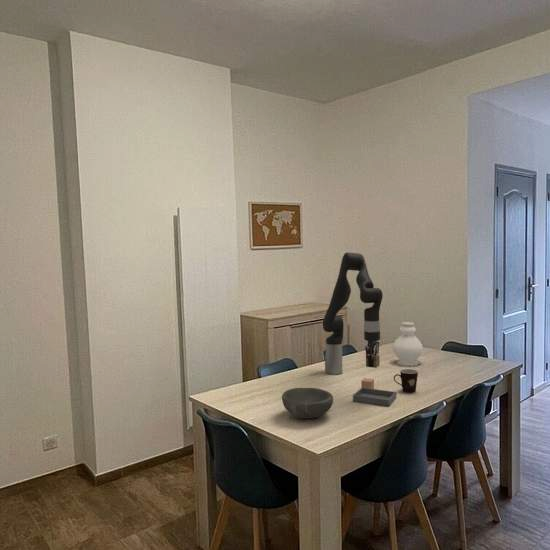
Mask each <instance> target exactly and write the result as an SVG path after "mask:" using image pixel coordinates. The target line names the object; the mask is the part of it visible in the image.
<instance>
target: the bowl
mask: <svg viewBox="0 0 550 550" xmlns="http://www.w3.org/2000/svg"><path fill="white" fill-rule="evenodd" d="M281 402H282V404H283V407H284V408H285V409H286V411H287V412H288V413H289V414H290V415H292V416H294V417H295V418H299V419H312V418H313V419H314V418H318V417H321V416H323V415H325V414H326V413H328V412H329V411H330V409H331V408H332V406H333V404H334V396H333V394H332V393H331V392H329V391H327V390H325V389H320V388H315V387H295V388H290V389H287V390H285V391H284V392H282V394H281Z"/></svg>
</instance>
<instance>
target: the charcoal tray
mask: <svg viewBox="0 0 550 550" xmlns="http://www.w3.org/2000/svg"><path fill="white" fill-rule="evenodd" d="M396 399H397V392H396V391H392V390H384V389H376V388H374V389H370V388H360V389H358V390H357V391H356V392H355V393H354V394H352V402H355V403H362V404H367V405H368V404H370V405H375V406H381V407H382V406H383V407H390V406H391V405H392V404H393V402H394V401H395V400H396Z"/></svg>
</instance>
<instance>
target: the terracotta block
mask: <svg viewBox="0 0 550 550" xmlns="http://www.w3.org/2000/svg"><path fill="white" fill-rule="evenodd" d="M360 384H361V388H370V389H375V379H373V378H367V377H364V378H363V379H362V380H361V383H360ZM361 388H360V389H361Z"/></svg>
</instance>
